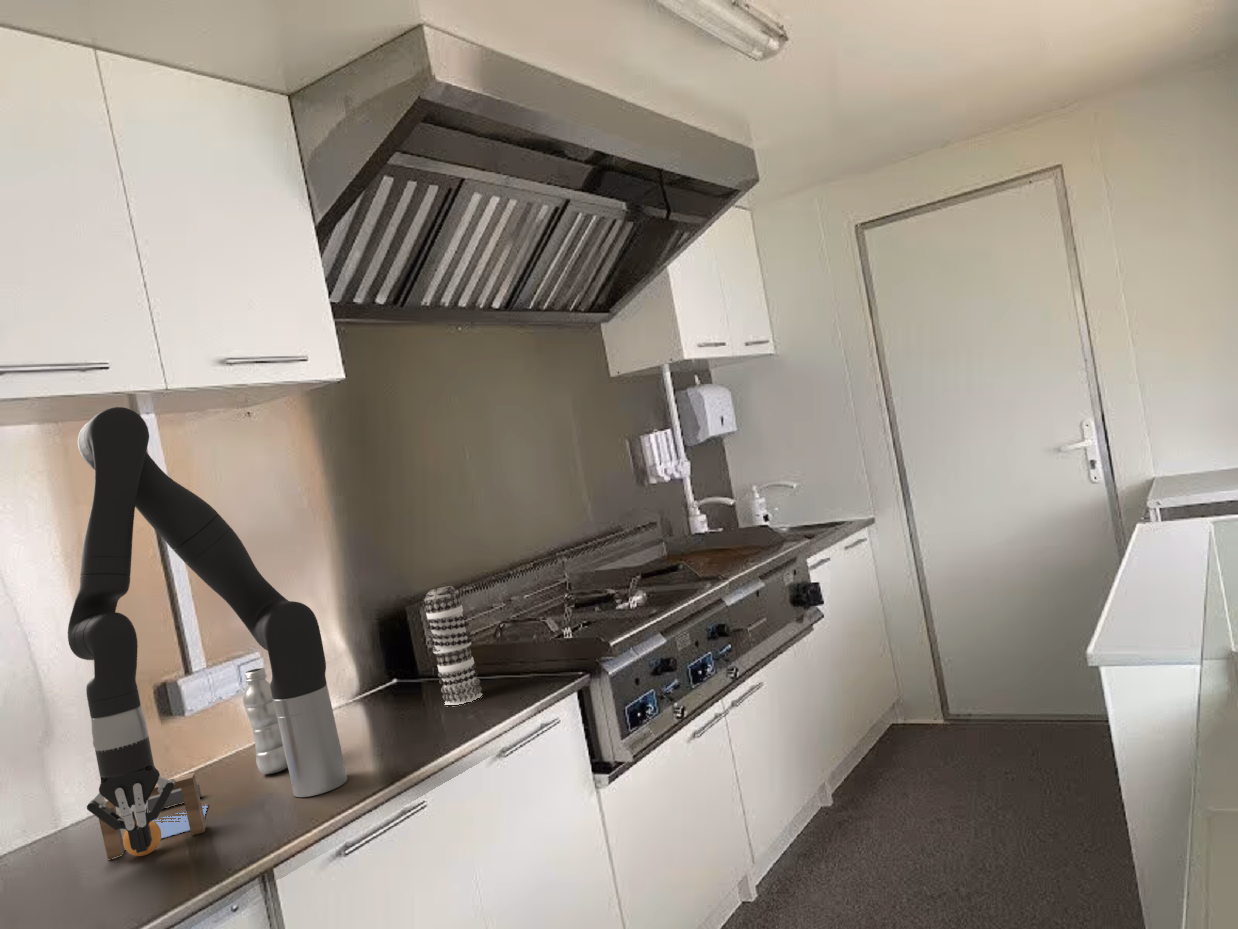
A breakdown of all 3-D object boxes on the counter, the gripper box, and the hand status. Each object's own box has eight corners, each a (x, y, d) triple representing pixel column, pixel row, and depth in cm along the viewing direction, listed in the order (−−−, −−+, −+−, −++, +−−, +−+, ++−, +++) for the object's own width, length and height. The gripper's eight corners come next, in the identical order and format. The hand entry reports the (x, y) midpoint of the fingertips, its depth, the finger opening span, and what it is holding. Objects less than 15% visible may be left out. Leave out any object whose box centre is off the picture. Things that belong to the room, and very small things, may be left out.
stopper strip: (149, 811, 182) (146, 797, 182) (201, 796, 184) (198, 783, 184) (147, 814, 180) (144, 800, 180) (200, 799, 183) (197, 785, 183)
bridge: (111, 854, 161) (99, 799, 161) (206, 826, 165) (194, 772, 165) (108, 860, 158) (95, 804, 158) (204, 832, 162) (192, 777, 162)
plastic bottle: (298, 762, 194) (276, 662, 193) (288, 774, 187) (265, 670, 187) (266, 769, 194) (244, 669, 193) (254, 781, 187) (231, 678, 186)
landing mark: (130, 828, 174) (129, 826, 174) (208, 805, 177) (208, 804, 177) (116, 852, 161) (116, 851, 161) (201, 827, 165) (201, 826, 165)
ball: (125, 862, 153) (134, 863, 158) (162, 845, 155) (169, 846, 160) (114, 828, 155) (122, 830, 159) (150, 811, 156) (158, 814, 161)
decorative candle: (433, 707, 217) (409, 595, 216) (464, 693, 224) (440, 585, 223) (462, 707, 211) (437, 592, 210) (492, 693, 218) (468, 582, 218)
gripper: (170, 724, 159) (190, 831, 159) (79, 746, 155) (100, 855, 155) (164, 734, 152) (185, 845, 152) (69, 757, 148) (90, 871, 148)
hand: (142, 850), depth 154 cm, fingers closed
